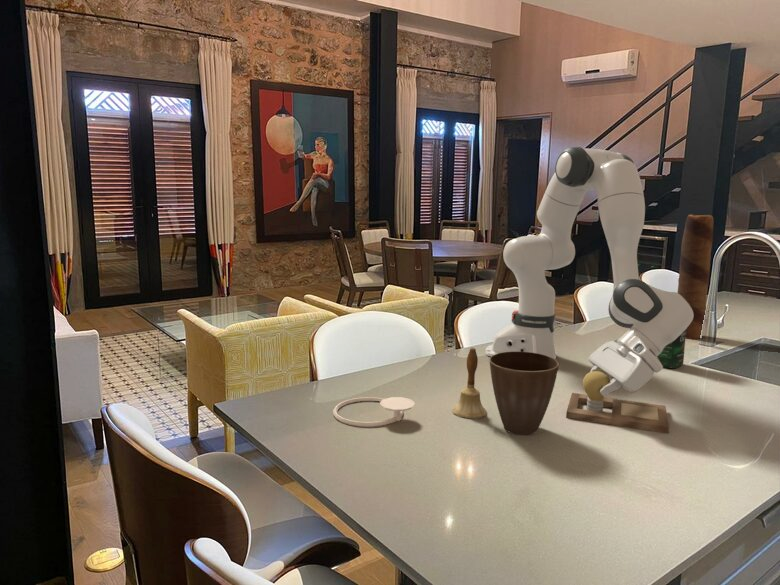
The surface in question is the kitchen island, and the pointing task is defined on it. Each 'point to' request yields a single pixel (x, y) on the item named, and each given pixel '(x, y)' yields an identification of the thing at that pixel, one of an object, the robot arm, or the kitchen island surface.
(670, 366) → the coffee jar
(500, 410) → the plant pot
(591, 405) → the light bulb
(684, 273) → the wafer roll
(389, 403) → the hand towel holder
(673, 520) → the kitchen island surface
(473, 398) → the hand bell
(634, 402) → the socket board
